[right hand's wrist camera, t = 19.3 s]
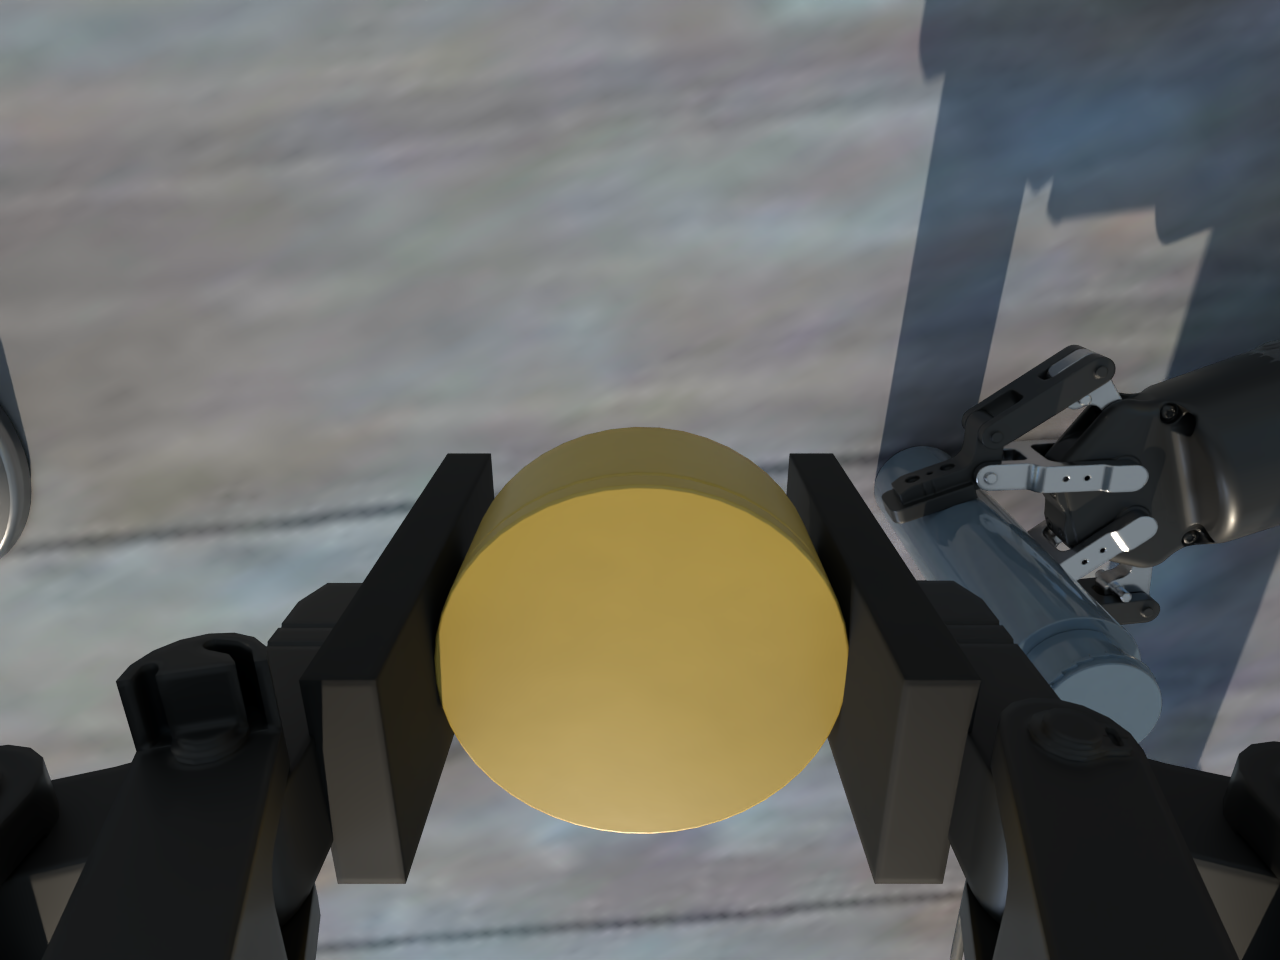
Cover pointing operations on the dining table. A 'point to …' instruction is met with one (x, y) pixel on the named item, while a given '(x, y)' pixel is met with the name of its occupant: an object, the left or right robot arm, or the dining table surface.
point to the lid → (641, 635)
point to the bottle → (1029, 599)
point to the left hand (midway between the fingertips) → (904, 557)
